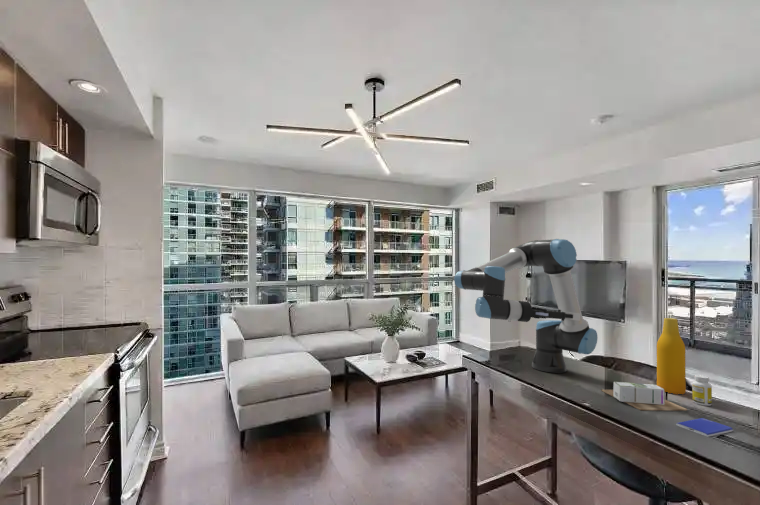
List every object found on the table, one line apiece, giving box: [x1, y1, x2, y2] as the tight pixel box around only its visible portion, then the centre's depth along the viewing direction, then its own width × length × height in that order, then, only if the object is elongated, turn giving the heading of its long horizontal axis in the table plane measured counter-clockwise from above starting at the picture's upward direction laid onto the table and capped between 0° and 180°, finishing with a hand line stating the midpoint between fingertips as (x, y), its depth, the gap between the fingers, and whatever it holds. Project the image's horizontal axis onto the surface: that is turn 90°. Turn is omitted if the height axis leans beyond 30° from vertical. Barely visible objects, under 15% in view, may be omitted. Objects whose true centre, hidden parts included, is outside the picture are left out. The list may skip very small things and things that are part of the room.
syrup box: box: [612, 381, 666, 405], centre depth 134 cm, size 6×6×14 cm
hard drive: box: [675, 417, 734, 438], centre depth 113 cm, size 2×8×12 cm
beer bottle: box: [656, 317, 687, 395], centre depth 149 cm, size 9×9×29 cm
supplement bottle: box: [691, 374, 713, 407], centre depth 135 cm, size 5×5×10 cm
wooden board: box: [601, 389, 688, 412], centre depth 137 cm, size 17×20×1 cm
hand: (579, 316), depth 139 cm, fingers closed
